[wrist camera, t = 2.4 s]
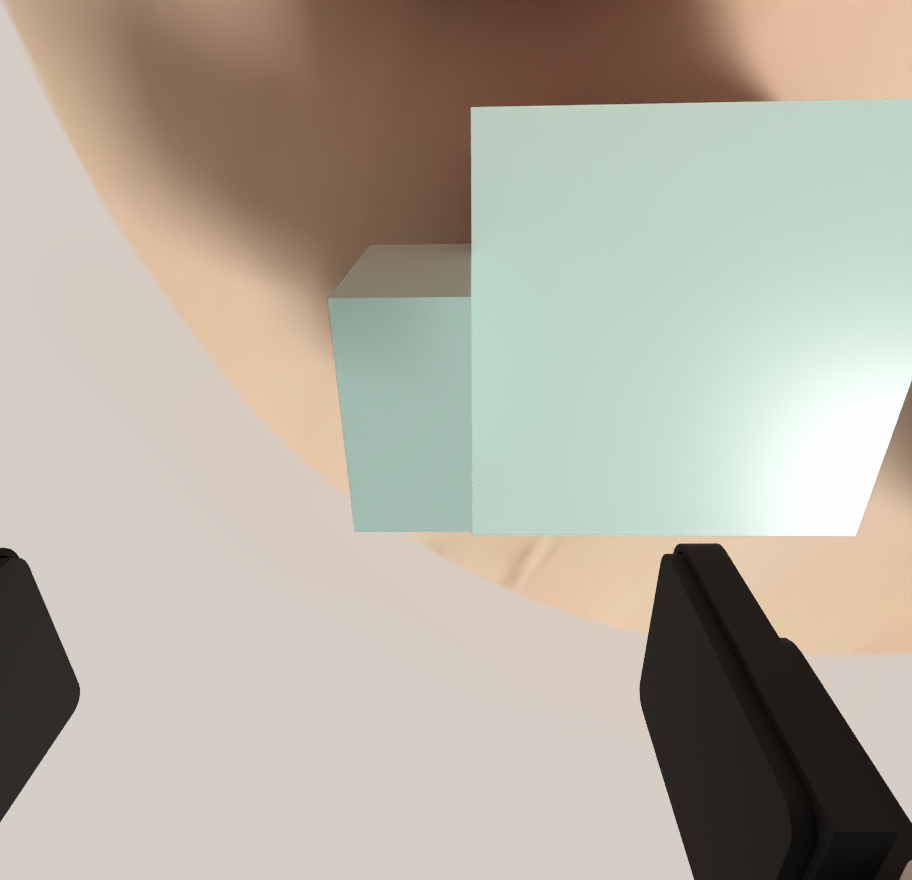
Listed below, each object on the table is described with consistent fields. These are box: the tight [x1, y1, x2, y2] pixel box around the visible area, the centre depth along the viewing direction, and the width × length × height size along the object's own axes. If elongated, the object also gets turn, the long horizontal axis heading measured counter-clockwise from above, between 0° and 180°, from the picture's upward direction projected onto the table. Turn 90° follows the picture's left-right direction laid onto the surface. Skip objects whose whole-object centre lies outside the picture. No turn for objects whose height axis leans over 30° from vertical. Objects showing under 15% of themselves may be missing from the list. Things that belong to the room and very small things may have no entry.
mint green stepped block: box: [327, 99, 912, 536], centre depth 17 cm, size 13×16×7 cm
